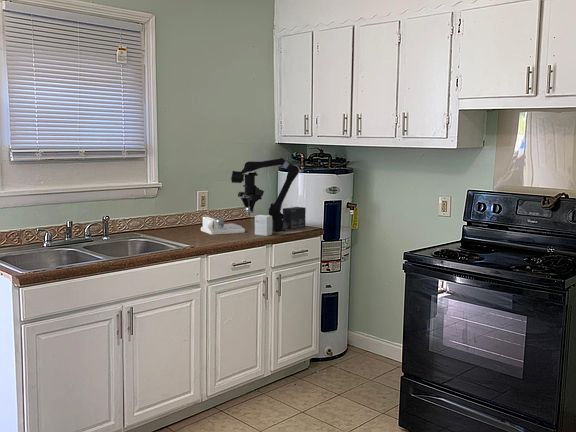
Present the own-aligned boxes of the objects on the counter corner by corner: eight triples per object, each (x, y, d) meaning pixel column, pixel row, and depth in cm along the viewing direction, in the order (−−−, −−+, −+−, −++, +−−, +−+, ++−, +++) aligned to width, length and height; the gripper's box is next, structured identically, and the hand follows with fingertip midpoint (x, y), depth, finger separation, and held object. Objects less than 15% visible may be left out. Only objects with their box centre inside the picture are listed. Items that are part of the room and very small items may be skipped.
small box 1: (272, 234, 330) (272, 215, 328) (266, 236, 325) (267, 216, 324) (260, 233, 334) (260, 214, 332) (254, 234, 329) (254, 215, 328)
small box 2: (297, 226, 363) (297, 206, 361) (305, 227, 358) (306, 207, 356) (281, 228, 353) (282, 208, 352) (290, 229, 348) (290, 209, 347)
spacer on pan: (225, 225, 338) (225, 220, 338) (217, 225, 336) (217, 220, 335) (221, 224, 342) (221, 218, 342) (213, 224, 340) (213, 219, 339)
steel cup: (255, 212, 344) (255, 207, 343) (247, 213, 341) (247, 208, 341) (251, 211, 348) (251, 206, 348) (243, 212, 346) (243, 206, 345)
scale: (244, 232, 335) (245, 218, 334) (209, 234, 324) (209, 220, 323) (233, 228, 348) (233, 214, 347) (198, 230, 337) (198, 216, 336)
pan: (242, 228, 336) (242, 226, 336) (222, 229, 330) (222, 227, 330) (232, 225, 346) (232, 223, 346) (213, 226, 340) (213, 224, 340)
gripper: (270, 184, 339) (269, 212, 341) (254, 181, 355) (254, 208, 357) (252, 185, 333) (252, 213, 335) (237, 182, 349) (237, 209, 351)
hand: (249, 210), depth 345 cm, fingers closed on steel cup, 5 cm apart
